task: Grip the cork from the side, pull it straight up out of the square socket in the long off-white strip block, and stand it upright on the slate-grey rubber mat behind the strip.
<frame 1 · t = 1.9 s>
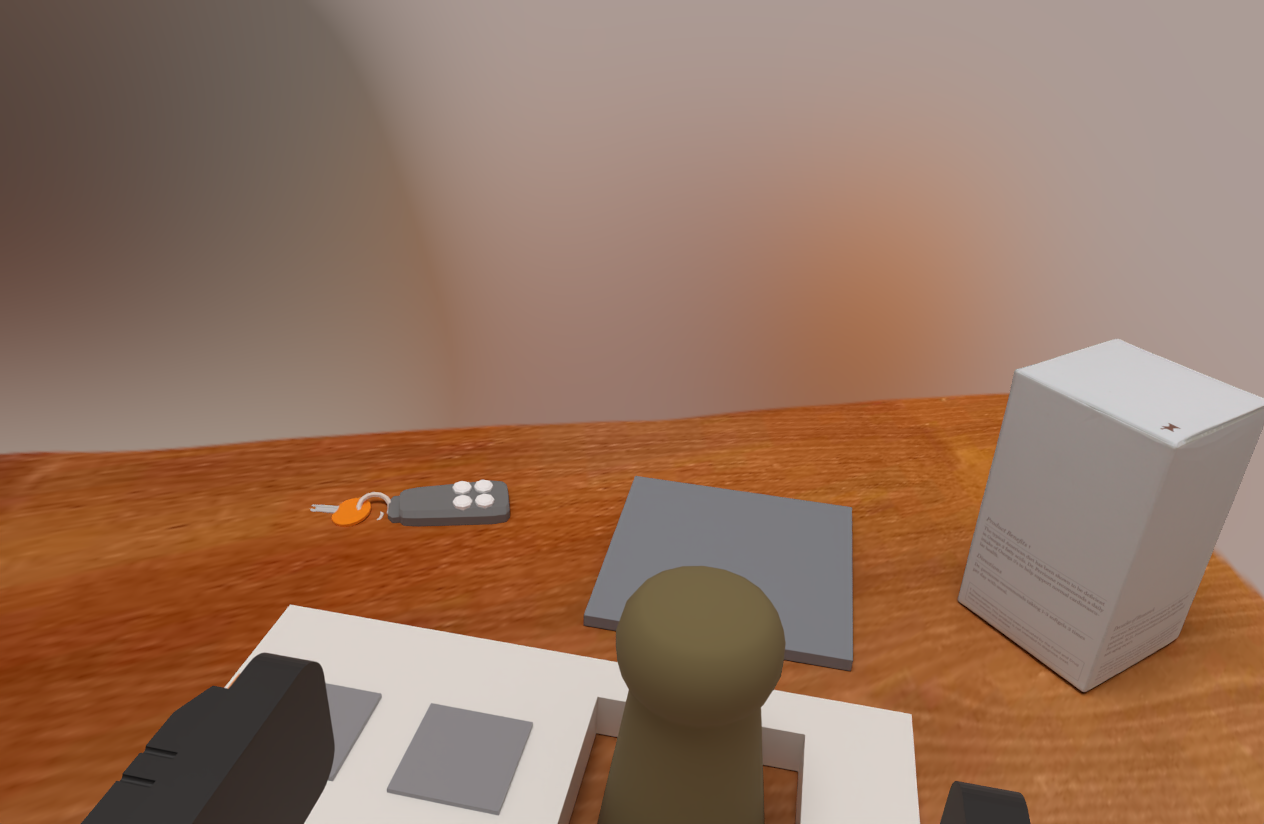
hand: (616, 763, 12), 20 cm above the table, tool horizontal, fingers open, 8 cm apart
socket strip: (544, 811, 34), on the table
supplement box: (1062, 622, 45), on the table
slate mat: (728, 565, 47), on the table
key chain: (387, 522, 51), on the table
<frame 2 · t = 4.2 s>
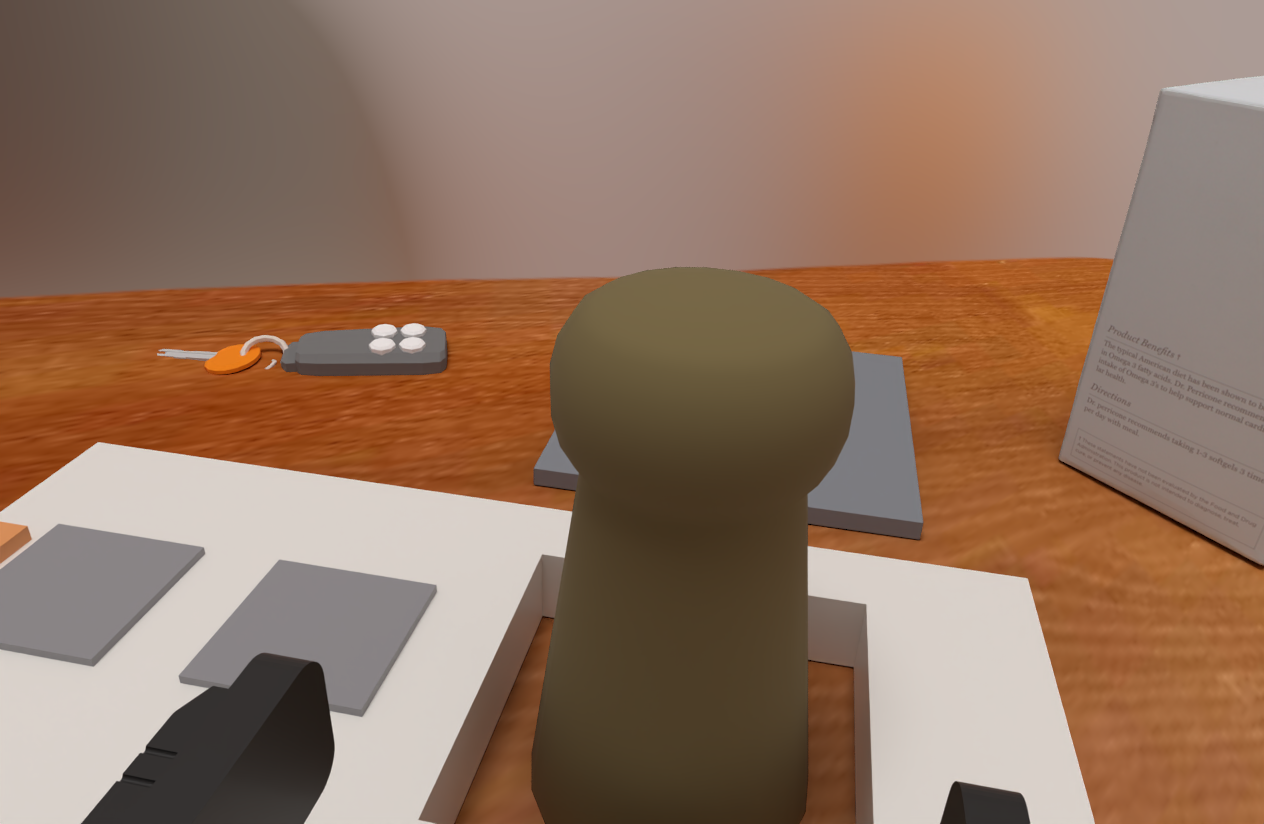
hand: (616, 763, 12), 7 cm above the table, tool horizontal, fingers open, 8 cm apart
socket strip: (451, 723, 21), on the table
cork: (668, 771, 21), resting in socket strip
supplement box: (1207, 486, 32), on the table
slate mat: (739, 420, 34), on the table
key chain: (283, 375, 38), on the table
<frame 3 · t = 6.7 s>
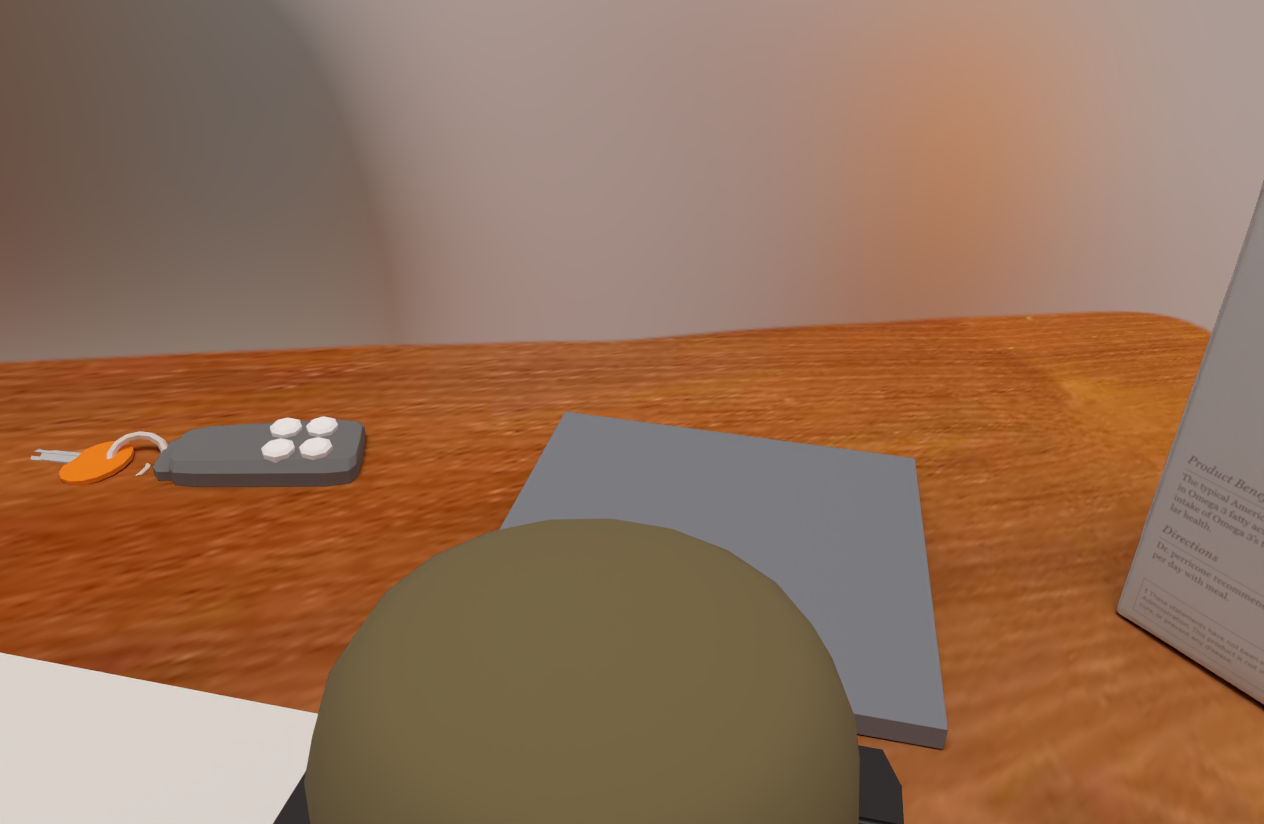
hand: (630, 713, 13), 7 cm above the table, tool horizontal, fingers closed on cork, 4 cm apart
slate mat: (711, 551, 27), on the table
key chain: (161, 481, 31), on the table
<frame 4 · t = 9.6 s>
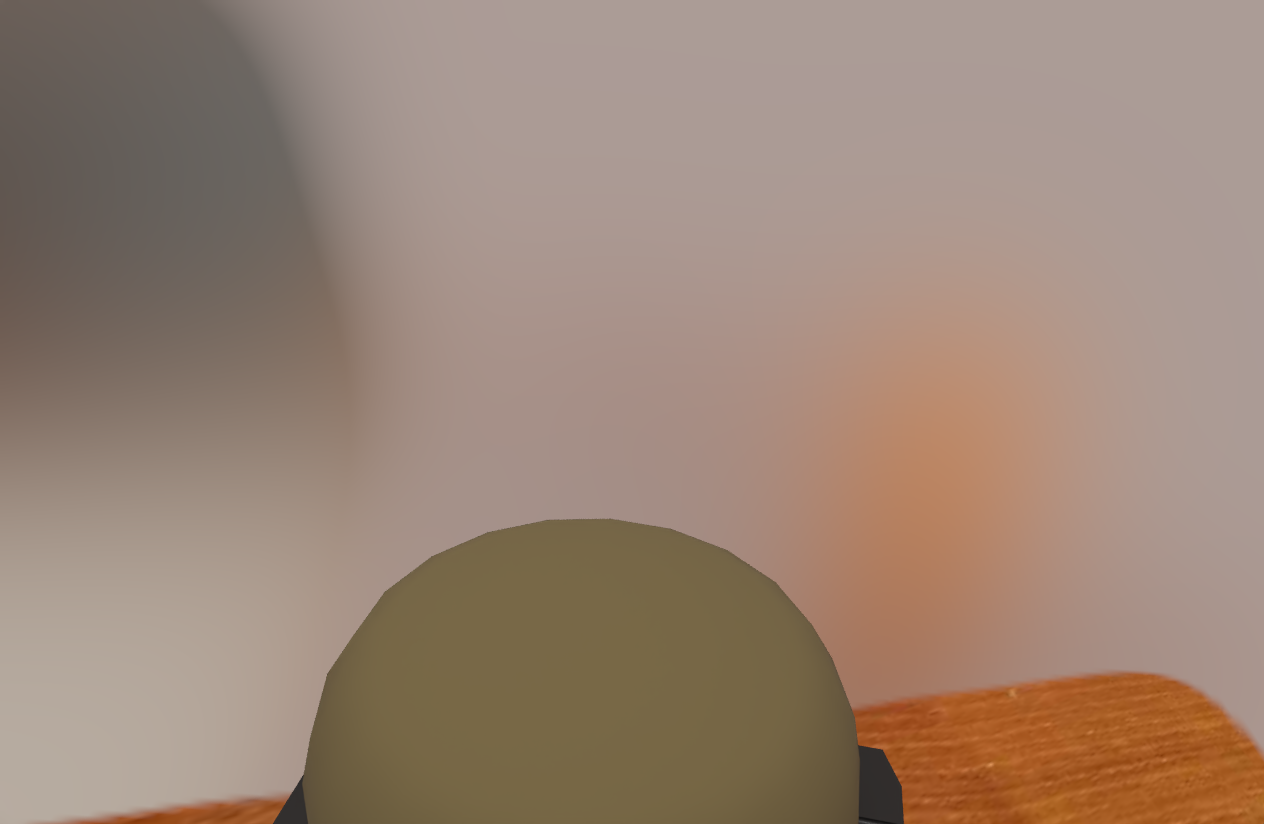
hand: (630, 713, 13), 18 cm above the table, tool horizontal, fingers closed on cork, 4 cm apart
when the fingers open (9 cm above the table, at t = 12.3 s): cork drops 1 cm, resting on slate mat.
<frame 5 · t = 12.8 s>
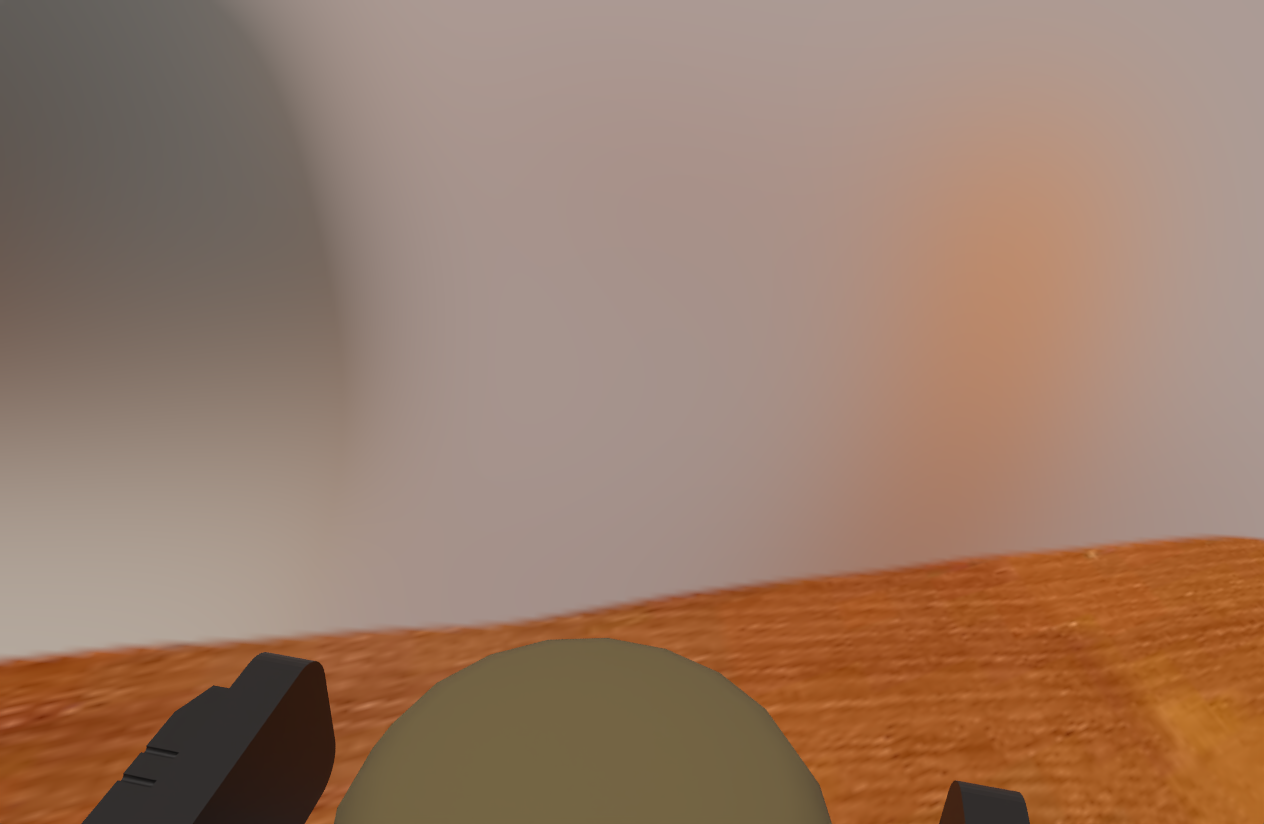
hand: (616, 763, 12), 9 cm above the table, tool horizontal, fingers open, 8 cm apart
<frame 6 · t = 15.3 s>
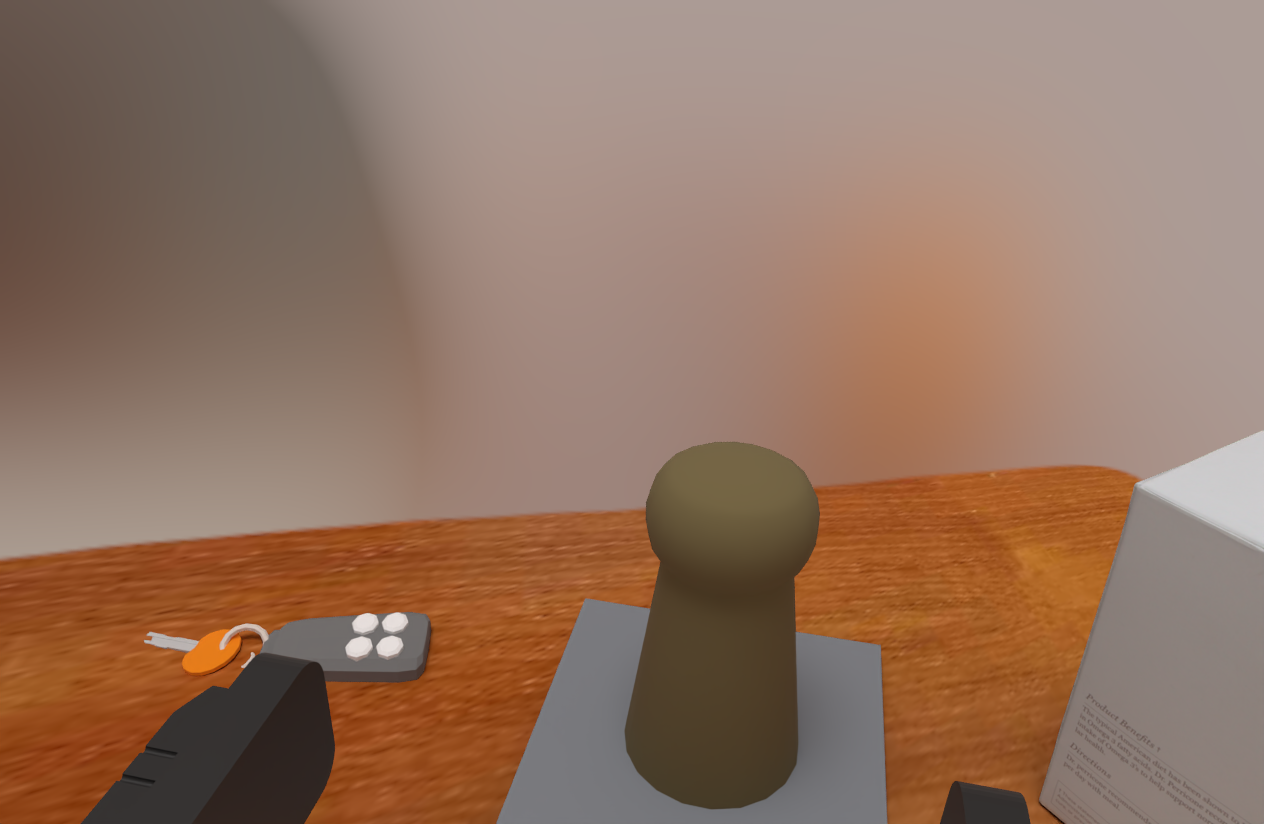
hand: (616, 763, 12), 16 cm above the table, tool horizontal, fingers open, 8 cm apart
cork: (710, 741, 33), resting on slate mat
slate mat: (708, 743, 33), on the table
key chain: (262, 666, 37), on the table
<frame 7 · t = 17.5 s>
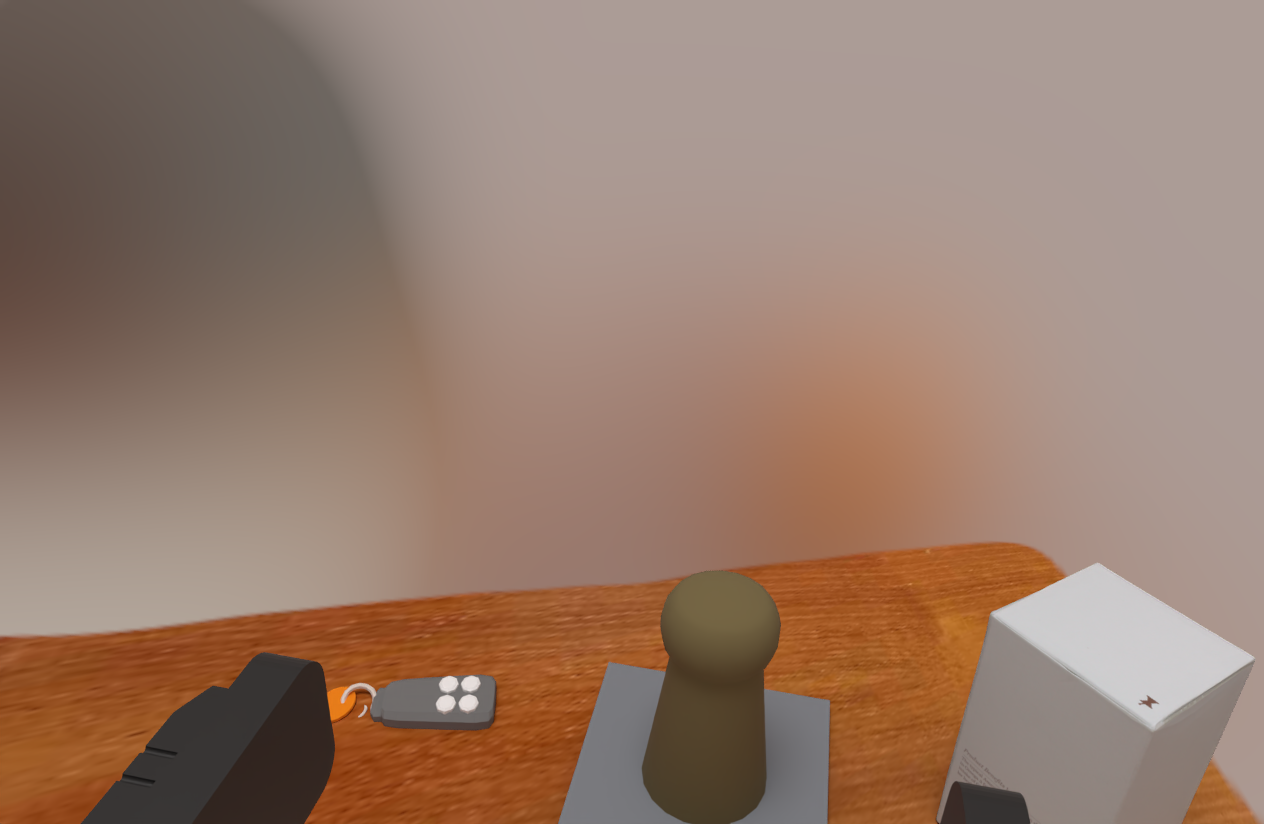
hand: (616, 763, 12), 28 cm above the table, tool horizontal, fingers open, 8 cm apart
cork: (703, 775, 46), resting on slate mat
slate mat: (701, 777, 46), on the table
key chain: (371, 715, 50), on the table
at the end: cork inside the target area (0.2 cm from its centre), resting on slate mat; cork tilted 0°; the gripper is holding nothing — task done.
